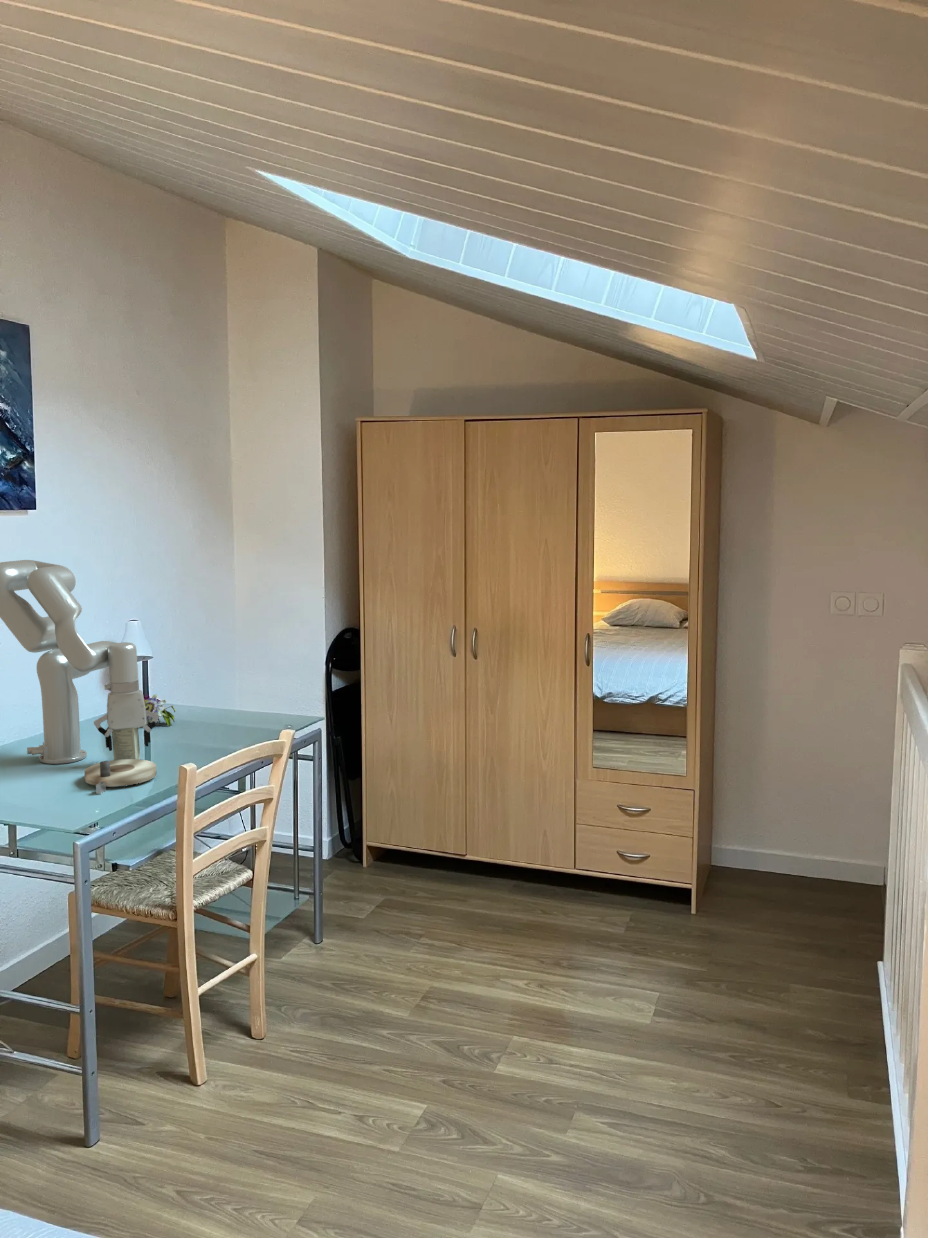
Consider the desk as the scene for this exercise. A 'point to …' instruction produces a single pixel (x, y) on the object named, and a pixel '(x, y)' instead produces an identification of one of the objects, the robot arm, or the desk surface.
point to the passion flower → (158, 710)
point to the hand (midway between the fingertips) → (128, 747)
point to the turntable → (120, 772)
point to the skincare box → (126, 744)
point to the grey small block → (101, 787)
